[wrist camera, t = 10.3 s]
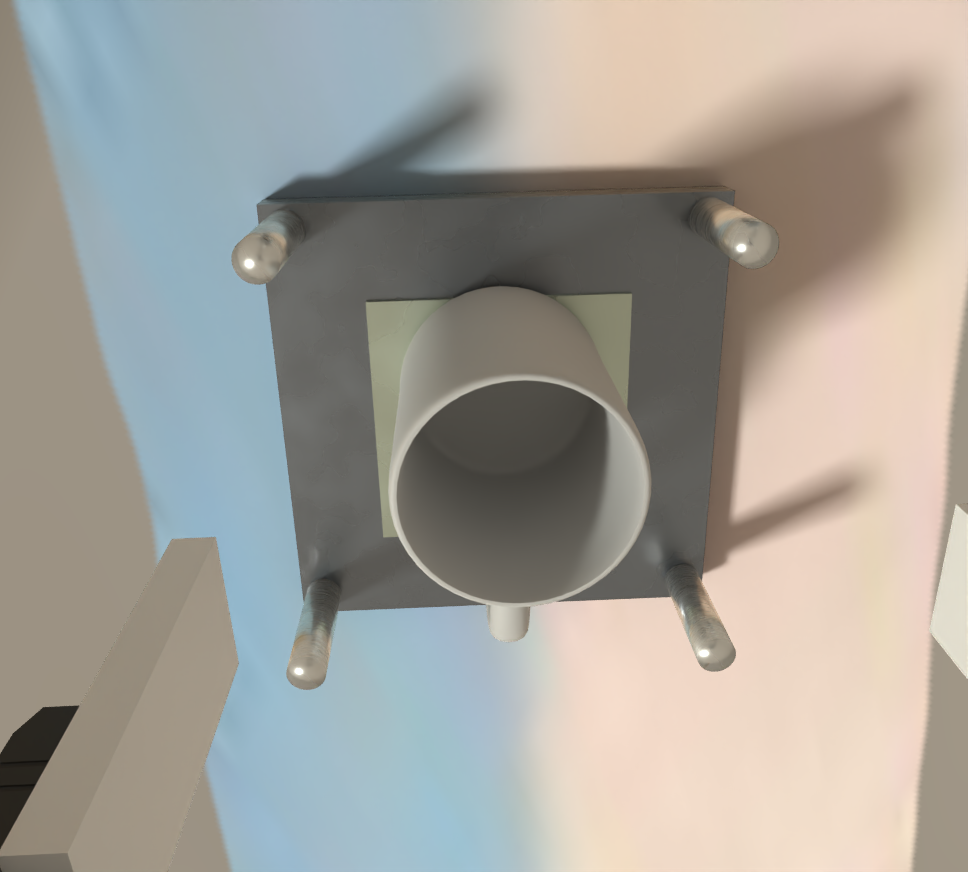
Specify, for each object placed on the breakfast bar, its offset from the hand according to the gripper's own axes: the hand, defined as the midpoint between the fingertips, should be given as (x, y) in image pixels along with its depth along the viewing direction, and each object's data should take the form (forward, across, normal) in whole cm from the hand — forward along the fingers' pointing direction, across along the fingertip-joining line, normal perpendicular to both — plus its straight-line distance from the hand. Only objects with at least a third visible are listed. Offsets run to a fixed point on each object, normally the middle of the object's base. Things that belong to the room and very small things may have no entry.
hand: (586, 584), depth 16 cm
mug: (+22, -1, -6) cm, 23 cm away
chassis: (+24, -1, -6) cm, 25 cm away
